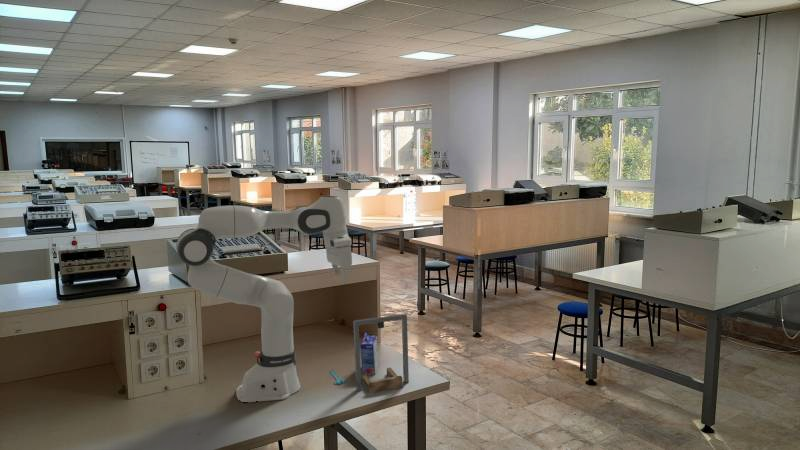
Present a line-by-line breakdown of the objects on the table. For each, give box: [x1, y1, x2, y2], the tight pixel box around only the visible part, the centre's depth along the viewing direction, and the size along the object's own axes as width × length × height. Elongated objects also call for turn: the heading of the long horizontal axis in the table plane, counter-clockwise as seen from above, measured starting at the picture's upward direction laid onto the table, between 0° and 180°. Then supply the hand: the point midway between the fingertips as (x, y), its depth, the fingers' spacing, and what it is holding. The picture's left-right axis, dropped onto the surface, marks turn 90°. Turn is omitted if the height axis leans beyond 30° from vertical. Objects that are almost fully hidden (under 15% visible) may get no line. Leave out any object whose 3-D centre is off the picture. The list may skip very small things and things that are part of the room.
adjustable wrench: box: [329, 369, 347, 386], centre depth 209 cm, size 14×1×5 cm
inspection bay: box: [361, 367, 403, 395], centre depth 202 cm, size 12×14×4 cm
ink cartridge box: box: [359, 332, 380, 375], centre depth 215 cm, size 10×6×14 cm, turn 174°
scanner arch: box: [352, 313, 410, 392], centre depth 199 cm, size 20×2×26 cm, turn 109°
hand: (340, 276), depth 203 cm, fingers open, 8 cm apart
